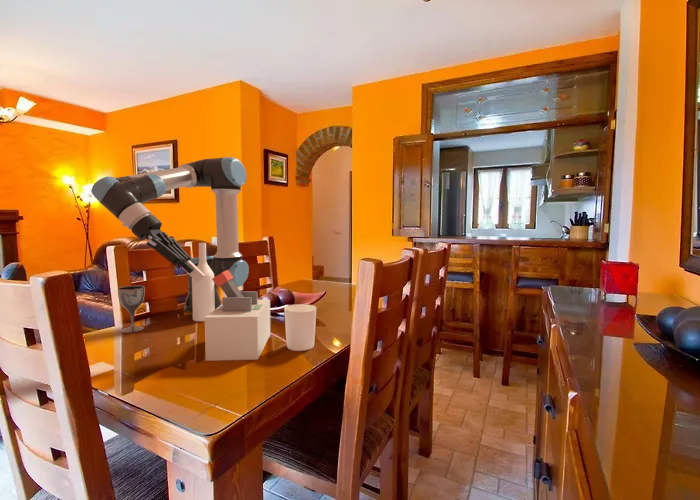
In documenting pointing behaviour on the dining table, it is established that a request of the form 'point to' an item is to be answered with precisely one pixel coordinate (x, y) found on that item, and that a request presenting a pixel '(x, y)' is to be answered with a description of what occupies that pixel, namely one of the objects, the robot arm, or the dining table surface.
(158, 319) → the dining table surface
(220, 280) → the toggle
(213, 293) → the bottle
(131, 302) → the wine glass
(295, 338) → the candle holder
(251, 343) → the box
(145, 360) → the dining table surface
